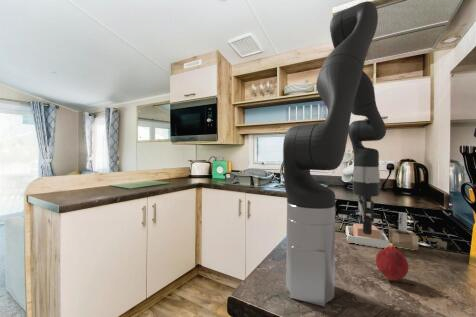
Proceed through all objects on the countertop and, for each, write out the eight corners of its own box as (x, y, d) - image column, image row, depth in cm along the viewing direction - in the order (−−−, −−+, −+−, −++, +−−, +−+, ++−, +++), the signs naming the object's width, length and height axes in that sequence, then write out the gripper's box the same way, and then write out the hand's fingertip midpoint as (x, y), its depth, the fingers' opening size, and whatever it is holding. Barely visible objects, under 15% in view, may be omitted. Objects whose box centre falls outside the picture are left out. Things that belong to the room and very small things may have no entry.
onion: (414, 290, 44) (414, 250, 44) (382, 286, 45) (383, 247, 45) (399, 275, 49) (399, 240, 49) (371, 272, 51) (371, 237, 51)
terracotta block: (379, 243, 67) (379, 230, 67) (357, 241, 69) (357, 228, 69) (373, 236, 73) (373, 224, 73) (353, 234, 74) (353, 222, 74)
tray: (389, 249, 64) (389, 241, 64) (347, 243, 68) (347, 235, 68) (381, 237, 74) (381, 230, 74) (345, 232, 78) (345, 225, 78)
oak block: (418, 251, 63) (418, 237, 63) (393, 247, 65) (393, 234, 65) (411, 243, 68) (411, 231, 68) (388, 240, 71) (388, 228, 71)
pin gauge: (407, 247, 65) (408, 214, 66) (399, 246, 66) (400, 213, 66) (405, 244, 67) (405, 212, 67) (397, 243, 68) (398, 212, 68)
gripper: (351, 178, 79) (350, 222, 79) (354, 181, 66) (354, 235, 66) (375, 179, 76) (374, 225, 76) (384, 183, 63) (383, 238, 63)
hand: (365, 229), depth 71 cm, fingers open, 8 cm apart
